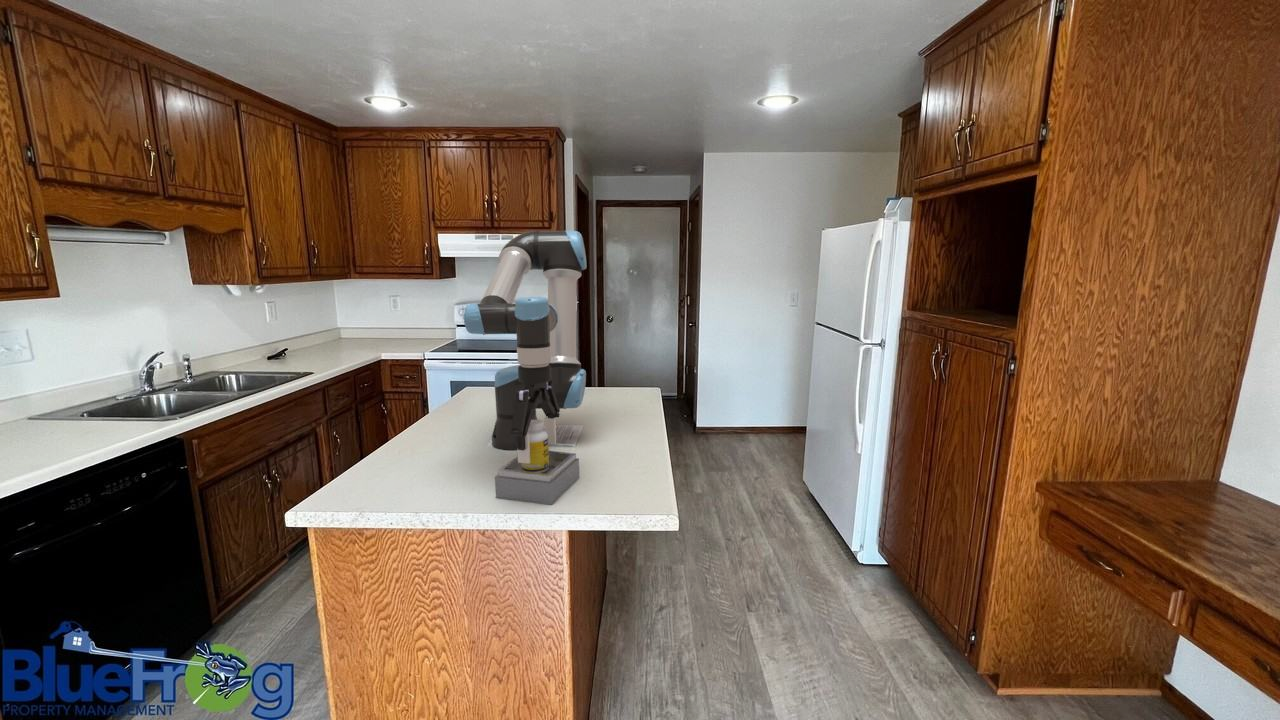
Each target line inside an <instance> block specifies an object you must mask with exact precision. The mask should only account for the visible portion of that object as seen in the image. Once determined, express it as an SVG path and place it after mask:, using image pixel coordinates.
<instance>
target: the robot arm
mask: <svg viewBox="0 0 1280 720" xmlns="http://www.w3.org/2000/svg"><path fill="white" fill-rule="evenodd" d="M586 255H587V254H586V248H585V243H584V237H583V236H582V234H581V233H580V232H579V231H577V230H567V229H565V230H531V231H530V230H529V231H525V232H523V233H521V234H520V233H519V235H517V236H515V237H513V238H512V239H511V240H509V241H507V243H505V245H504V246H503V247H502V249H501V250H500V252H499V254H498V260H497V261H498V265H497V267H496V269H495V272H494V273H493V276H492V278H491V280H490V282H489V284H488V286H487V288H486V290H485V292H484V295H483V297H482V299H481V301H480V302H479V303H477V302H475V303H469V304H467V305H466V306H465V308H464V311H463V322H464V326H465V330H466V331H467V332H468V333H470V334H472V335H473V334H474V335H483V336H485V335H516V347H517V350H516V353H517V363H518V365H517V364H516V365H512V366H511V365H510V366H508V367H504V368H500V369H499V370H498V371H496V372H495V373H494V391H495V393H494V394H495V395H494V396H495V409H496V410H495V411H496V421H495V424H494V427H493V431H492V434H491V445H492V446H493V447H494V448H496V449H499V450H510V451H511V450H516V451H517V457H518V463H527V464H529V463H530V443H529V435H527V432H528V429H529V425H530V422H531V420H539V419H538V417H537V409H539V410H540V409H541V410H542V411H543V413H544V415H545V417H544V418H543V422H544V431H545V432H546V433H547V434H548V445H556V444H557V430H556V429H557V428H556V427H557V426H556V423H557V422H556V418H560V415H561V414H560V412H561V411H560V409H562V410H566V409H577V408H579V407H580V406H581V405H582V403H583V401H584V395H585V391H586V383H587V372H586V371H587V370H585V369H584V368H582V364H581V362H580V361H579V360H578V358H577V281H578V279H580V278H581V277H582V271H584V270H586V269H587V256H586ZM530 270H531V271H532V270H543V271H542V275H543V276H544V277H545V278H546V279H547V297H543V296H526V297H525V296H524V297H518V298H516V296H517V294H518V292H519V288H520V285H521V283H522V280H523V278H524V276H525V275H527V274H528V273H529V272H530ZM515 299H516V300H515ZM514 301H515V302H514Z"/></svg>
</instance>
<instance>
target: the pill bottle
mask: <svg viewBox="0 0 1280 720" xmlns="http://www.w3.org/2000/svg"><path fill="white" fill-rule="evenodd" d="M543 429H544V430H543ZM527 435H529V443H530V463H529V464H527V463H521V469H522V471H525V472H534V473H543V472H545V471H547V470H548V468H549V451H550V450H549V444H548V434H547V433H546V432H545V427H544V420H542V419H538V420H531V422H530V425H529V429H528V432H527Z"/></svg>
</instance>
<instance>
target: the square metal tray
mask: <svg viewBox="0 0 1280 720" xmlns="http://www.w3.org/2000/svg"><path fill="white" fill-rule="evenodd" d="M579 479H580V458H577V453H576V452H564V451H555V450H554V451H553V450H549V468H548V470H547V471H545V472H543V473H534V472H525V471H522V469H521V463H518V456H516V457H514V458H513V459H512V460H510V461H509V462H508V463H506V464H505V465H502V466H501V467H500V468H499V469H497V475H496V476H494V487H495V489H494V490H495V498H496V499H502V498H503V499H504V500H511V501H517V500H518V502H519V501H520V502H528V503H533V504H543V505H548V506H549V505H550V506H552V505H553V504H554V503H555V502H556V501H557V500H558V499H559V498H560V497H562V495H564V493H566V491H568V490H569V489H570V488H571V486H573V485H574V484H575V483H576V482H577V481H578V480H579ZM503 499H502V500H503Z"/></svg>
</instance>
